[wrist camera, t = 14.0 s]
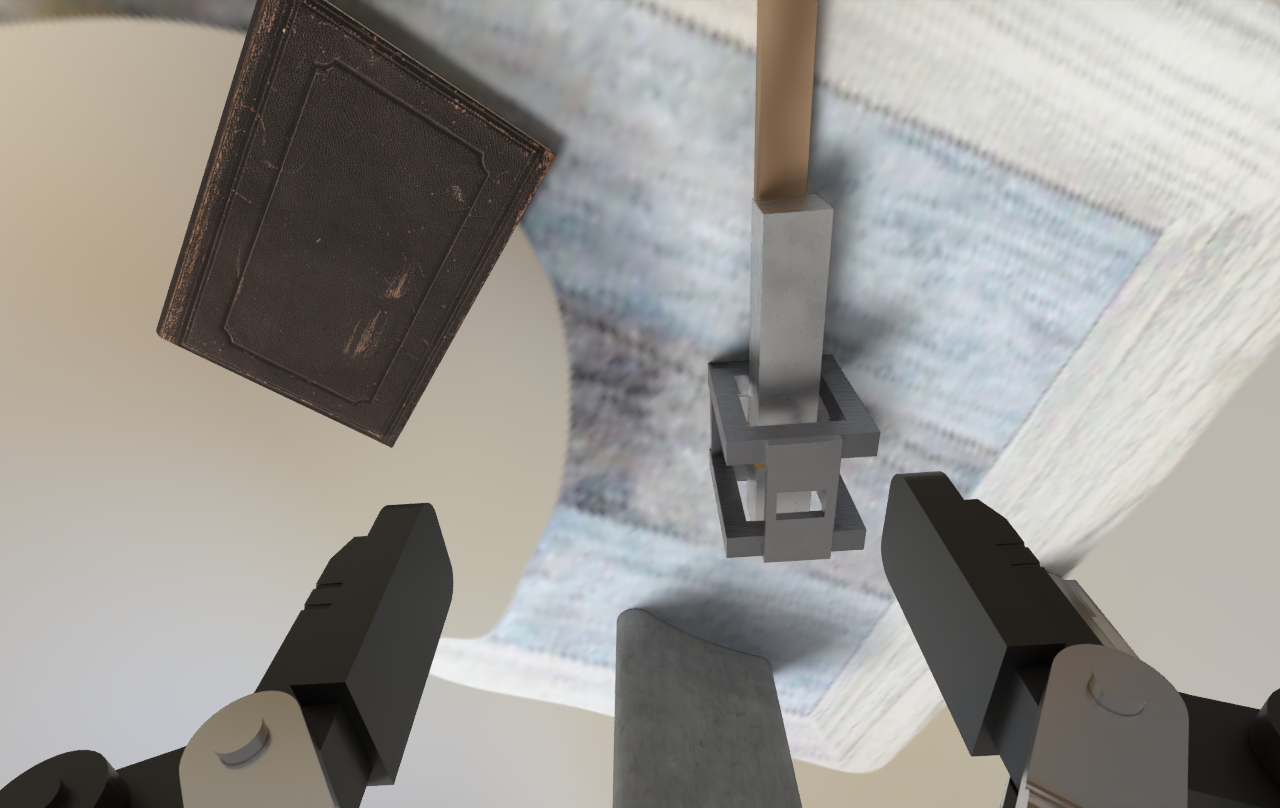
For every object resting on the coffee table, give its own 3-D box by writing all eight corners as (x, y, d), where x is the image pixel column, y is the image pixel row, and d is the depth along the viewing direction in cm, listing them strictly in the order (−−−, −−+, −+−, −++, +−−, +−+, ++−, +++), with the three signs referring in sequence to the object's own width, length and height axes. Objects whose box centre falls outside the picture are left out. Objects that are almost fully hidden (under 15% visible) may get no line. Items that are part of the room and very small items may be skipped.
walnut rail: (813, -102, 31) (824, -110, 29) (790, 342, 43) (796, 355, 41) (759, -97, 31) (767, -105, 29) (751, 344, 43) (756, 357, 41)
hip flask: (777, 663, 59) (838, 923, 42) (752, 687, 61) (800, 947, 44) (628, 603, 55) (627, 866, 38) (605, 631, 57) (594, 894, 39)
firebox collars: (832, 355, 43) (883, 438, 34) (822, 459, 47) (866, 556, 39) (707, 363, 43) (727, 448, 35) (709, 466, 48) (727, 564, 39)
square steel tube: (750, 198, 36) (762, 215, 33) (818, 193, 36) (836, 209, 33) (745, 504, 47) (754, 539, 44) (797, 500, 47) (809, 536, 44)
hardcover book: (559, 149, 37) (555, 155, 35) (402, 430, 46) (391, 448, 44) (284, -36, 32) (261, -40, 30) (172, 318, 42) (149, 333, 40)
